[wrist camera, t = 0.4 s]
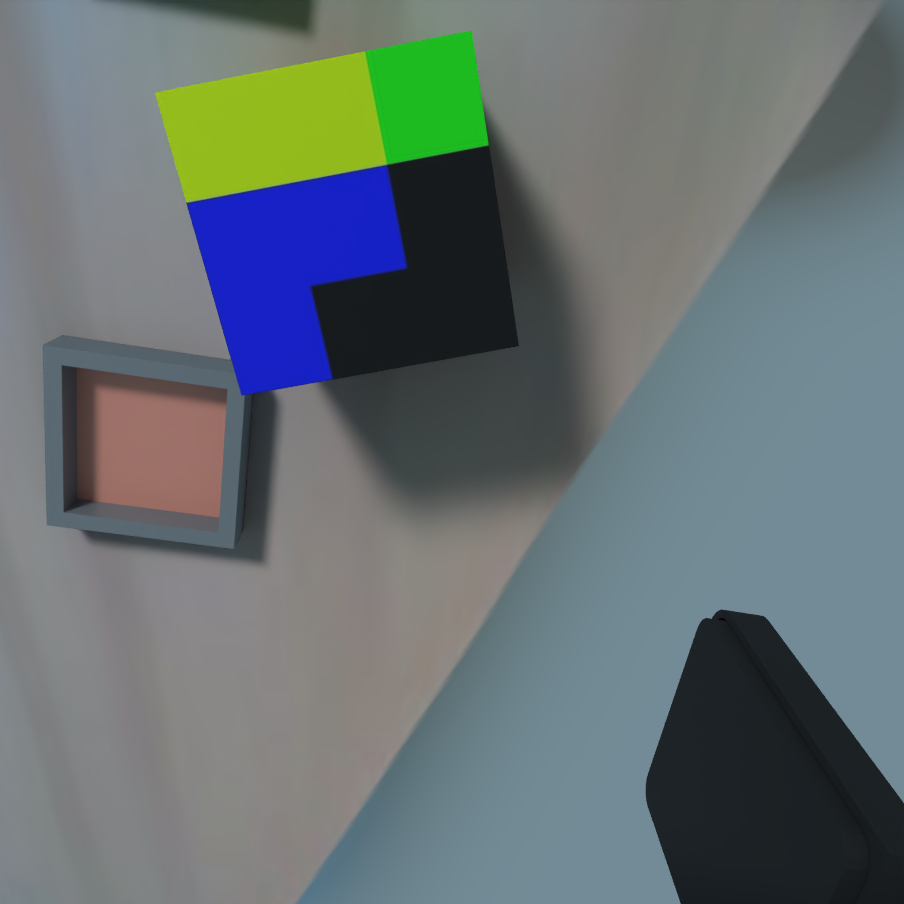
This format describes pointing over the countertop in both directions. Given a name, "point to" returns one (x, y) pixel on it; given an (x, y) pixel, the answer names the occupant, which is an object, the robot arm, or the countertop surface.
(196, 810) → the countertop surface
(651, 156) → the countertop surface
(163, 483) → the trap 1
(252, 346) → the puzzle toy
